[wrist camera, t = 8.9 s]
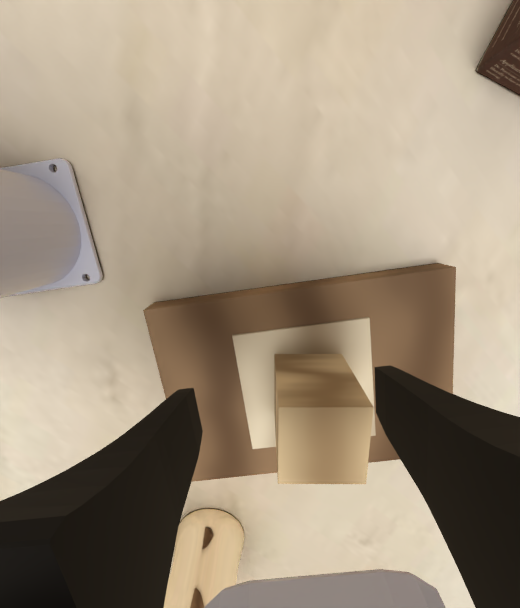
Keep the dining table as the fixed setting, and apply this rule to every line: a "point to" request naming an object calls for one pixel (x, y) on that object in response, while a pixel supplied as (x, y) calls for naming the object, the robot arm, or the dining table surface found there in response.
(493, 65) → the box
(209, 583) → the beer glass
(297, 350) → the walnut board
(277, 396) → the maple block
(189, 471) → the robot arm
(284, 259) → the dining table surface
